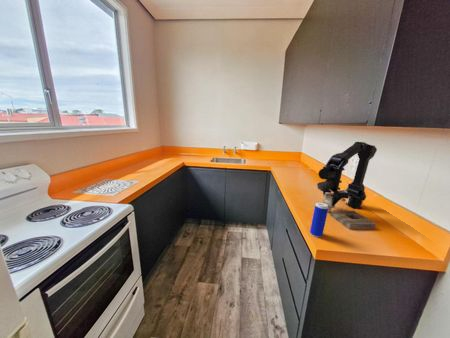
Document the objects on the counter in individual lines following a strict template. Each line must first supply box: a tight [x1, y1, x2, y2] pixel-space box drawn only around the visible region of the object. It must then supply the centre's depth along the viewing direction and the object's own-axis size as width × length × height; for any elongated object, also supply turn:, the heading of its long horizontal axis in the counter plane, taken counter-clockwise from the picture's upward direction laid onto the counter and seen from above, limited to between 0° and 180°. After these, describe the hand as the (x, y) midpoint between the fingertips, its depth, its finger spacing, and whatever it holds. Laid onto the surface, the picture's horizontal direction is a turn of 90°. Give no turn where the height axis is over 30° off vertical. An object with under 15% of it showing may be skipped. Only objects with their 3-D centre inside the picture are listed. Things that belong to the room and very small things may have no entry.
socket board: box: [330, 209, 377, 230], centre depth 96 cm, size 14×14×3 cm
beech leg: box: [322, 192, 336, 212], centre depth 105 cm, size 6×6×10 cm
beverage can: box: [309, 201, 329, 238], centre depth 81 cm, size 5×5×15 cm
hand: (328, 203), depth 105 cm, fingers closed on beech leg, 6 cm apart
